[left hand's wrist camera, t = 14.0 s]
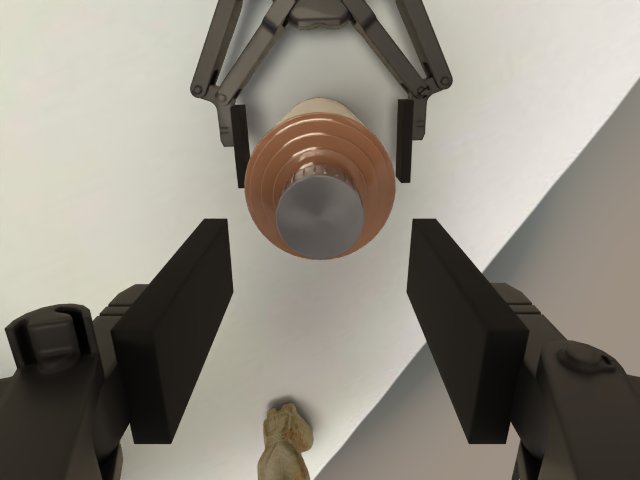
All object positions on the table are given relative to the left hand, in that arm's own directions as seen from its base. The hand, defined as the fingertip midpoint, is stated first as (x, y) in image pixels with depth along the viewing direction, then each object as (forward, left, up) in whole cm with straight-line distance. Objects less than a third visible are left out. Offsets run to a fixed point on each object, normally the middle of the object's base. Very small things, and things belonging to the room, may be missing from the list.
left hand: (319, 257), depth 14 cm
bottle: (0, 0, -29) cm, 29 cm away
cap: (0, 0, -5) cm, 5 cm away
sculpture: (-32, -14, -29) cm, 45 cm away
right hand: (-2, -2, -22) cm, 23 cm away
